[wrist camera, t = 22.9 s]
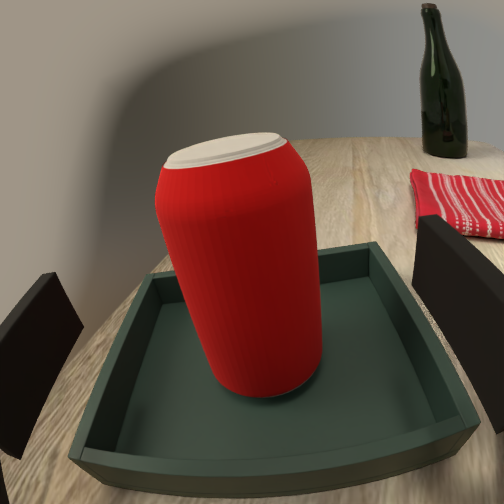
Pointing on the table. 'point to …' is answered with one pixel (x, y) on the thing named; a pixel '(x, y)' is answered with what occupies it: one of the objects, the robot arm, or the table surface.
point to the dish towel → (461, 202)
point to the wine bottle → (441, 92)
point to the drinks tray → (276, 397)
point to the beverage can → (246, 258)
